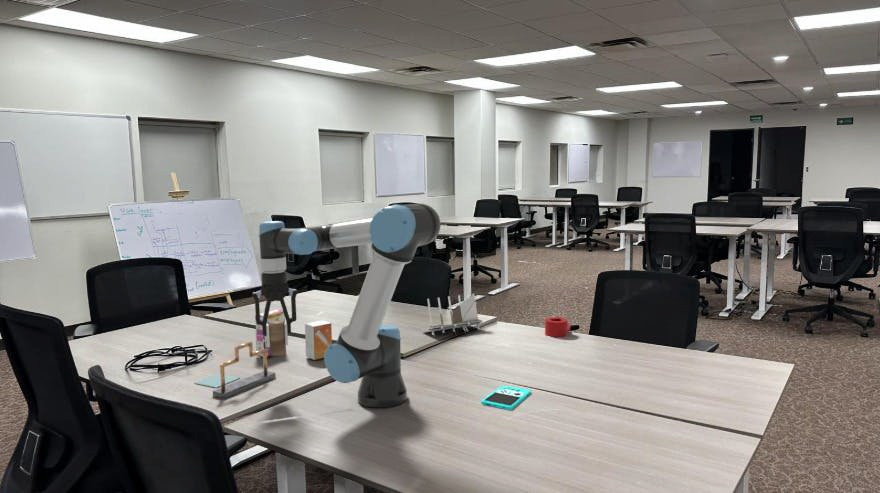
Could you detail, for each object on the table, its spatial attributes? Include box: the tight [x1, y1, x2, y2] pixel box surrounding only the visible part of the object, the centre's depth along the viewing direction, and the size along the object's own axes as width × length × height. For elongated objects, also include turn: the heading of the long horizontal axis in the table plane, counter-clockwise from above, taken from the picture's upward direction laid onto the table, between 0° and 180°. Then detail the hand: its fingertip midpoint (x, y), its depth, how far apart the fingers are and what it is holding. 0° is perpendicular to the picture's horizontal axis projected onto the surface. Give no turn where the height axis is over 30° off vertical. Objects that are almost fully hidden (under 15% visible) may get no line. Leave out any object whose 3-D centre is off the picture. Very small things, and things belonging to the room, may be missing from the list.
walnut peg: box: [268, 321, 287, 357], centre depth 184 cm, size 5×5×10 cm
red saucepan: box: [544, 316, 572, 338], centre depth 256 cm, size 18×9×7 cm, turn 146°
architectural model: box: [421, 293, 484, 336], centre depth 258 cm, size 17×25×18 cm
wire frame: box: [212, 341, 277, 400], centre depth 192 cm, size 5×22×15 cm, turn 151°
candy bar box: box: [254, 309, 286, 359], centre depth 228 cm, size 11×5×16 cm, turn 149°
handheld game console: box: [480, 385, 532, 411], centre depth 181 cm, size 10×16×1 cm, turn 149°
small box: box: [304, 319, 333, 361], centre depth 224 cm, size 8×6×13 cm
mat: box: [194, 373, 240, 389], centre depth 198 cm, size 10×10×1 cm
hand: (277, 344), depth 185 cm, fingers closed on walnut peg, 5 cm apart
